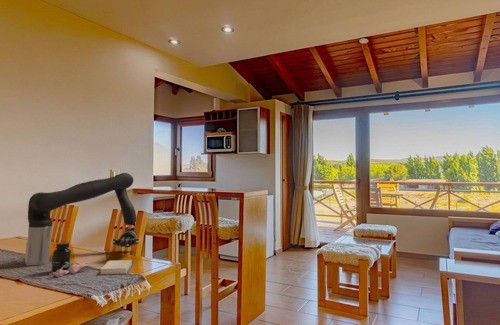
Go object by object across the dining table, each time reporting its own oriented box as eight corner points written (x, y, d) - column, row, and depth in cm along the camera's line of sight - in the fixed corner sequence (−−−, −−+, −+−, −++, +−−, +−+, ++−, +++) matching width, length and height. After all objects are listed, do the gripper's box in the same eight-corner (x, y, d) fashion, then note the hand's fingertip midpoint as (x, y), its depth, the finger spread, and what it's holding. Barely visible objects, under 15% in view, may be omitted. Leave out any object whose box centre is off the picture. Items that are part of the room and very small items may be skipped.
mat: (108, 264, 149) (108, 262, 149) (135, 263, 152) (135, 262, 152) (96, 277, 128) (97, 275, 128) (128, 275, 131) (128, 274, 131)
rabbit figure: (53, 283, 123) (93, 270, 134) (51, 268, 123) (91, 256, 134) (48, 279, 128) (87, 267, 139) (47, 265, 127) (86, 254, 138)
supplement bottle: (50, 274, 130) (52, 245, 131) (51, 270, 136) (54, 242, 137) (69, 272, 133) (71, 244, 134) (70, 268, 139) (72, 241, 141)
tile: (108, 260, 144) (100, 268, 130) (131, 260, 146) (126, 268, 132) (108, 265, 144) (100, 274, 129) (131, 265, 146) (126, 273, 132)
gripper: (115, 231, 165) (108, 236, 149) (142, 231, 168) (137, 236, 151) (115, 246, 165) (107, 252, 148) (141, 245, 168) (136, 252, 151)
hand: (122, 244), depth 150 cm, fingers closed
